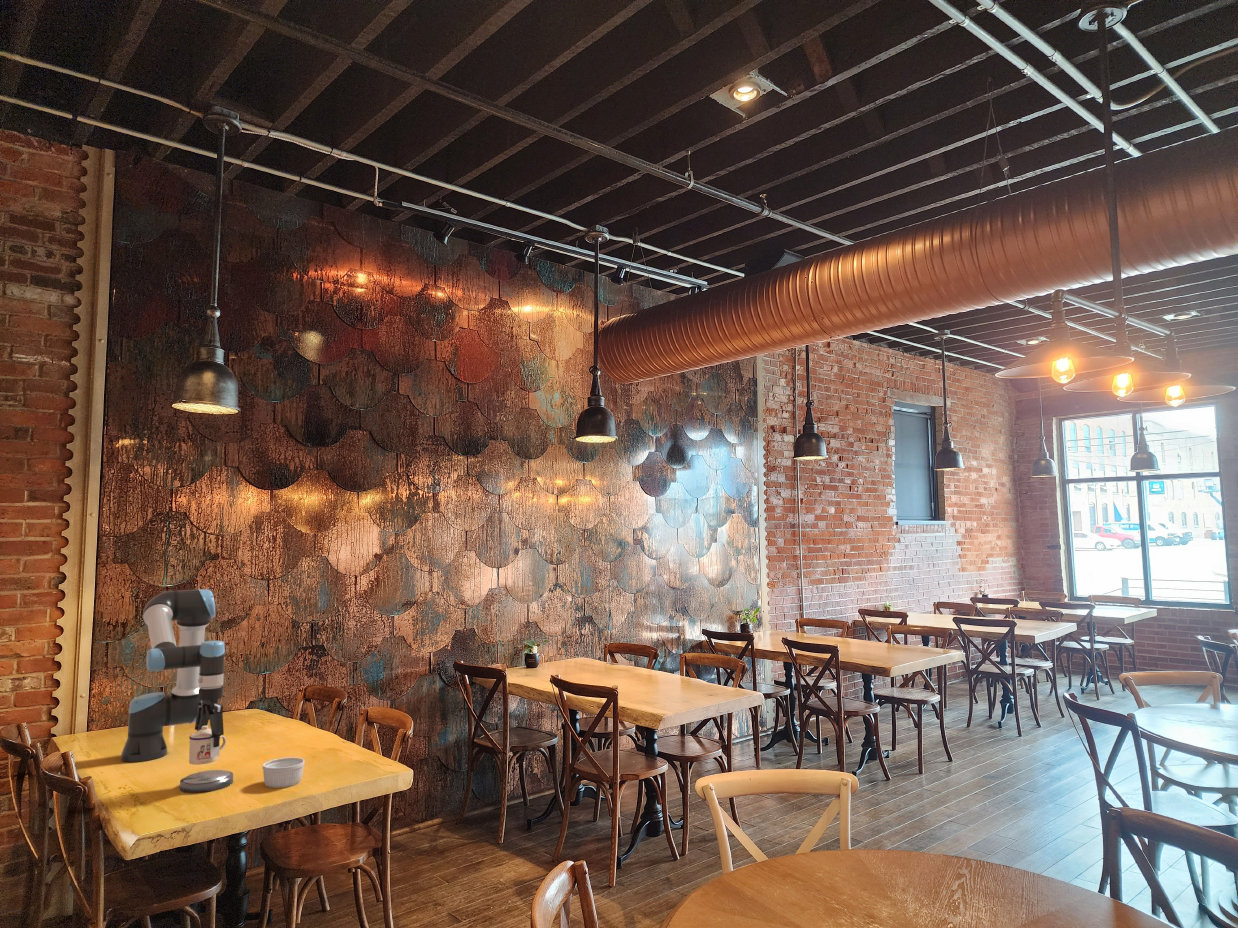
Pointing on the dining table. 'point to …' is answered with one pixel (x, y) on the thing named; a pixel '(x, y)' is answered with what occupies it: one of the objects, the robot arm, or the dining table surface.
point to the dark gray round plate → (206, 781)
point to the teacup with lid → (202, 747)
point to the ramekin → (283, 772)
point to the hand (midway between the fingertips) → (208, 754)
